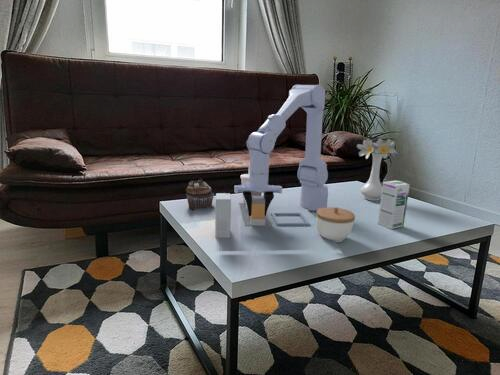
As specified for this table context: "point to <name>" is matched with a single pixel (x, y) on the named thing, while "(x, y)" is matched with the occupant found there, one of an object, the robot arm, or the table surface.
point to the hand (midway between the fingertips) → (257, 214)
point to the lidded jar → (334, 223)
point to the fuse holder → (253, 221)
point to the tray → (290, 223)
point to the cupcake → (199, 195)
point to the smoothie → (245, 178)
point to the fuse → (254, 195)
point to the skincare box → (222, 215)
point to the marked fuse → (257, 207)
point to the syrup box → (393, 204)
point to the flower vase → (375, 166)
